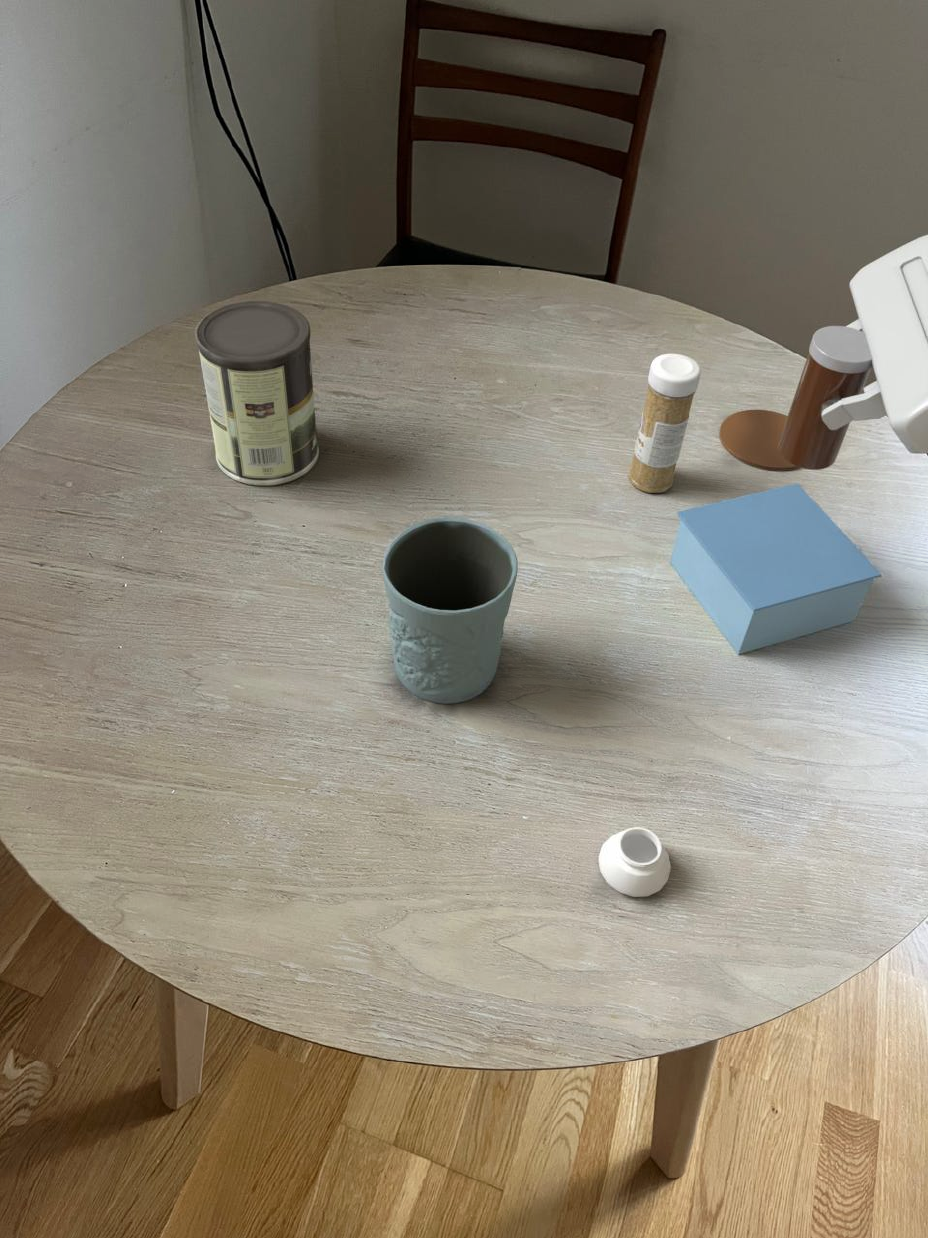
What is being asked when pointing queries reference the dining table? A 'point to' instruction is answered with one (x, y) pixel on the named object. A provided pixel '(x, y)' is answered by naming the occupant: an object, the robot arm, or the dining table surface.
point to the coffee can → (259, 391)
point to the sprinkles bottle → (663, 421)
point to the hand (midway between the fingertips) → (819, 395)
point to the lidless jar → (635, 862)
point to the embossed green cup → (448, 606)
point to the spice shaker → (824, 395)
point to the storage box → (770, 567)
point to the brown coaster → (755, 438)
